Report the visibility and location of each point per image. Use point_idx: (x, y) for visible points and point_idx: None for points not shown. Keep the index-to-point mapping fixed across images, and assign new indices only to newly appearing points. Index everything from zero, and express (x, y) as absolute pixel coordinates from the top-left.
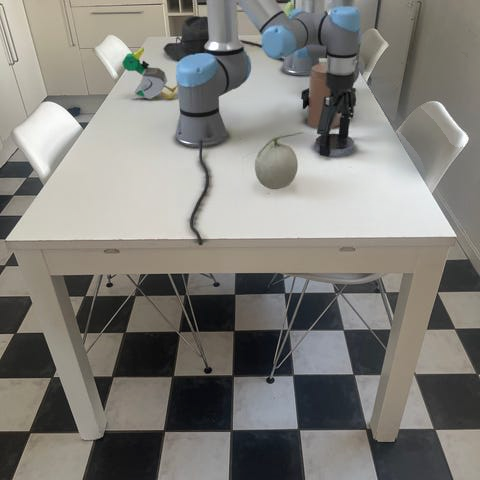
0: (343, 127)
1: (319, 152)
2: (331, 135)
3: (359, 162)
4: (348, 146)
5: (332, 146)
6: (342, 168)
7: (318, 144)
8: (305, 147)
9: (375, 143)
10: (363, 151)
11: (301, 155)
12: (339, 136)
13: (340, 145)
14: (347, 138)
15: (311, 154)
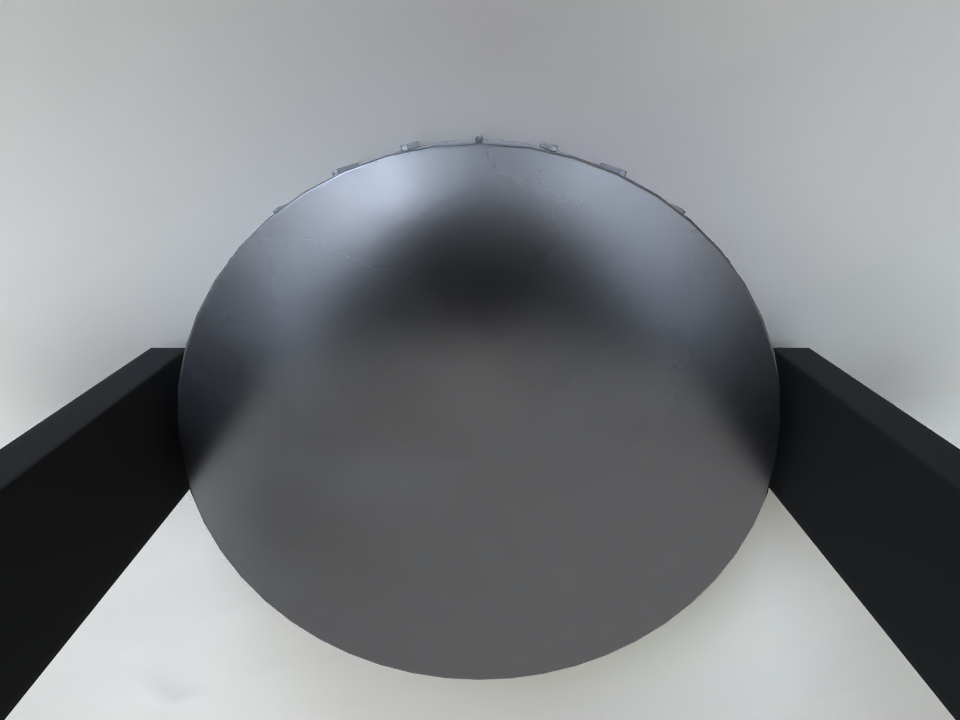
0: (871, 515)
1: (135, 361)
2: (666, 330)
3: (323, 717)
4: (420, 655)
5: (291, 503)
6: (99, 648)
7: (218, 300)
8: (286, 17)
9: (828, 696)
10: (580, 670)
11: (10, 107)
12: (681, 449)
13: (392, 570)
14: (661, 561)
15: (143, 224)
